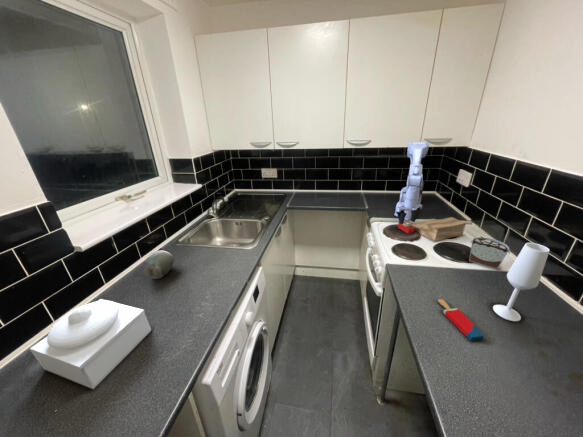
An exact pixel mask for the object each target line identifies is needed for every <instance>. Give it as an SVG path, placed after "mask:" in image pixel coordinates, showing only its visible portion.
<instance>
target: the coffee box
mask: <svg viewBox="0 0 583 437" xmlns="http://www.w3.org/2000/svg"><path fill="white" fill-rule="evenodd" d="M405 187H407V185H406V186H405ZM419 187H420V185H419ZM424 187H425V181H424V180H423V181H422V185H421V187H420V189H419V199H418V203H417V204H421V202H422V199H423V198H422V197H423V192H424Z"/></svg>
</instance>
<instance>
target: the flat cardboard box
mask: <svg viewBox="0 0 583 437" xmlns="http://www.w3.org/2000/svg"><path fill="white" fill-rule="evenodd" d="M407 224H409V225H411V226H413V227H415V228H414V232H417V233H419V234H421V235H423V236H424V237H426V238H428V239H429V240H431V241H432V242H439V241H443V240H449V239H451V238H456V237H460V236H463V235H464V231H465V228H466V224H467V222H465V221H462V220H460V219H458V218H455V217H453V216H449V217H445V218H439V219H436V218H429V219H424V220H419V221H415V222H408V223H407Z"/></svg>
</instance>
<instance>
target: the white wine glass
mask: <svg viewBox="0 0 583 437" xmlns="http://www.w3.org/2000/svg"><path fill="white" fill-rule="evenodd" d="M549 254H550V248H549V247H547V246H545V245H542V244H539V243H536V242H526V243H525V244H524V245H523V247H522V248H521V250H520V252H519V253H518V255H517V256H516V258H515V260H514V262H513V263H512V265H511V267H510V268H509V269H508V272H507V273H506V279H507V280H508V283H509V284H510V285H511V286H512V287H513V288H514V289H513V291H512V293H511V296H510V298H509V300H508V302H507V304H506V305H504V304H494V305H493V306H492V310H493V311H494V313H495V314H496V315H498V316H499V317H501V318H502V319H505V320H508V321H512V322H520V321H521V319H522V316H521V315H520V313H519V312H518V311H516V310H515V309H513V306H514V304H515V302H516V301H517V298H518V296H519V293H520V291H528V290H529V291H530V290H533V289H535V288H537V287H538V286H539V285H540V280H541V278H542V274H543V272H544V269H545V266H546V262H547V259H548V256H549Z"/></svg>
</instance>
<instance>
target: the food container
mask: <svg viewBox="0 0 583 437" xmlns="http://www.w3.org/2000/svg"><path fill="white" fill-rule="evenodd" d="M470 244H471V246H470V252H469V258H468V262H471V263H474V264H478V265H481V266H485V267H488V268H491V269H493V270H498V269H499V268H500V266H501V265H502V263H503V261H504V259H505V258H506V256H507V254H510V252H511V249H510V246H508V245H507V244H506V243H505V242H502V241H500V240H498V239H495V238H490V237H484V236H480V237H474V238H473V239H472V240H471V241H470Z"/></svg>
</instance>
